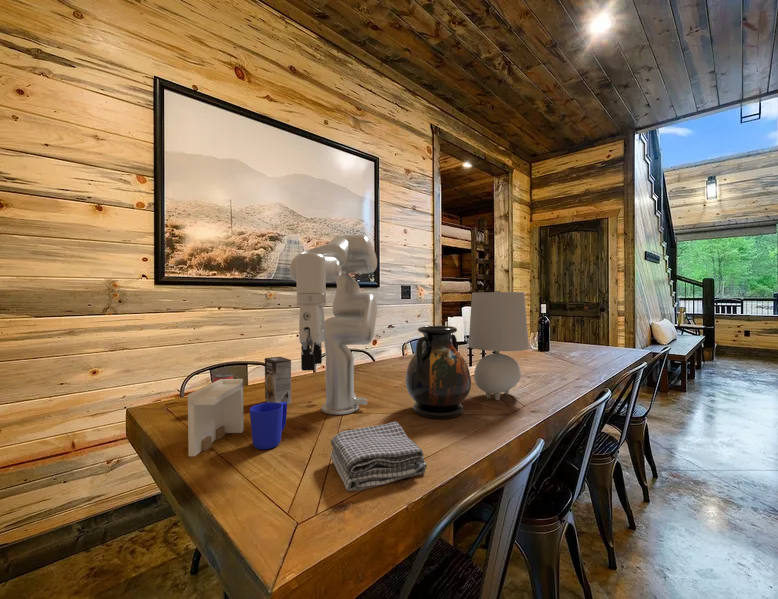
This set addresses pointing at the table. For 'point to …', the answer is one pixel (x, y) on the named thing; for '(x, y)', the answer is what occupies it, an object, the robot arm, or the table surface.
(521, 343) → the table lamp
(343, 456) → the towel
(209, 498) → the table surface
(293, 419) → the table surface
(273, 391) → the coffee box
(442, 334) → the amphora vase
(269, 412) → the mug
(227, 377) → the beer can
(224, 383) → the shelf
